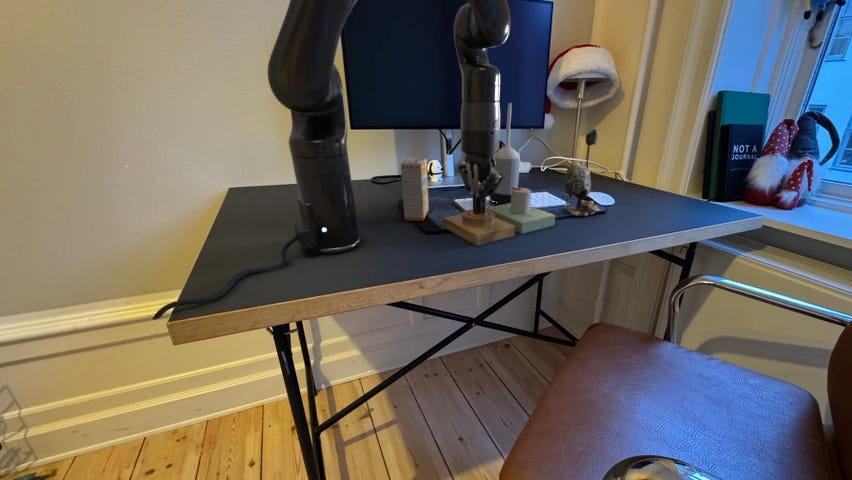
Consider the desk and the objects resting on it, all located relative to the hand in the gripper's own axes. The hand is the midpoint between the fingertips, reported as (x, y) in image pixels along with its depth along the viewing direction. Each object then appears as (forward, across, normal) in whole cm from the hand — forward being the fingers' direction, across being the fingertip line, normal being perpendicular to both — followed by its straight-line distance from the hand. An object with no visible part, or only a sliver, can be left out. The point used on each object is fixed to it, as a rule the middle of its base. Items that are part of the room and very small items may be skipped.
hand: (479, 213), depth 78 cm
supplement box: (+4, -17, -6) cm, 19 cm away
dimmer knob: (+2, 0, +12) cm, 12 cm away
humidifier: (+4, -14, +19) cm, 24 cm away
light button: (+2, 0, 0) cm, 2 cm away
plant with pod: (+4, +3, +30) cm, 30 cm away
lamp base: (+4, 0, 0) cm, 4 cm away
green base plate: (+4, 0, +12) cm, 13 cm away
